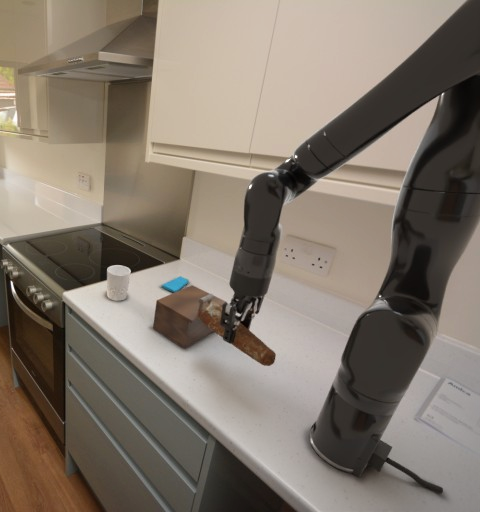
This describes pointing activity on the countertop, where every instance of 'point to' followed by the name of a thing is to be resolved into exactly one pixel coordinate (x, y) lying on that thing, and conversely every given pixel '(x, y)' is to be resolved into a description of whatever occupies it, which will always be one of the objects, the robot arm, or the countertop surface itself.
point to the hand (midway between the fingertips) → (235, 336)
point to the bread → (238, 335)
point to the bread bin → (178, 327)
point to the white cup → (117, 282)
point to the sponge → (175, 284)
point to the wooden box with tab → (189, 302)
